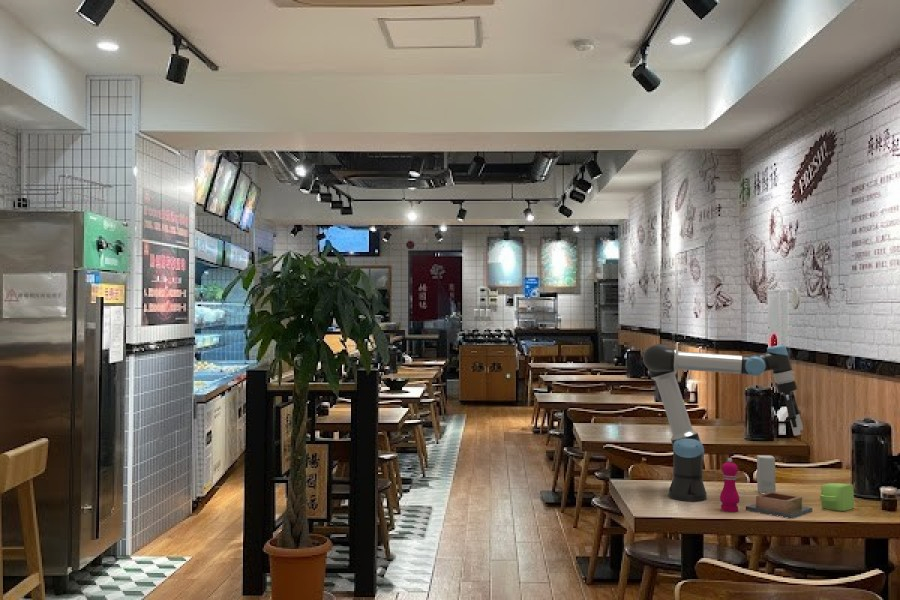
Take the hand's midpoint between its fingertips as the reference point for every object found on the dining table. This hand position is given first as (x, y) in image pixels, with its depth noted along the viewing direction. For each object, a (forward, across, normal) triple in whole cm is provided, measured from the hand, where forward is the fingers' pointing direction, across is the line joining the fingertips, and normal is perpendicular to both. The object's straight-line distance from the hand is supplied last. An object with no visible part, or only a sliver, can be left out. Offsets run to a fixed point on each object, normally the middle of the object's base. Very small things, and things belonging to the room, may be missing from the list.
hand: (798, 432), depth 347 cm
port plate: (+25, -27, +12) cm, 38 cm away
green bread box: (+30, -9, -7) cm, 32 cm away
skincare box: (+24, +8, +20) cm, 32 cm away
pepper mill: (+20, -36, +28) cm, 50 cm away
